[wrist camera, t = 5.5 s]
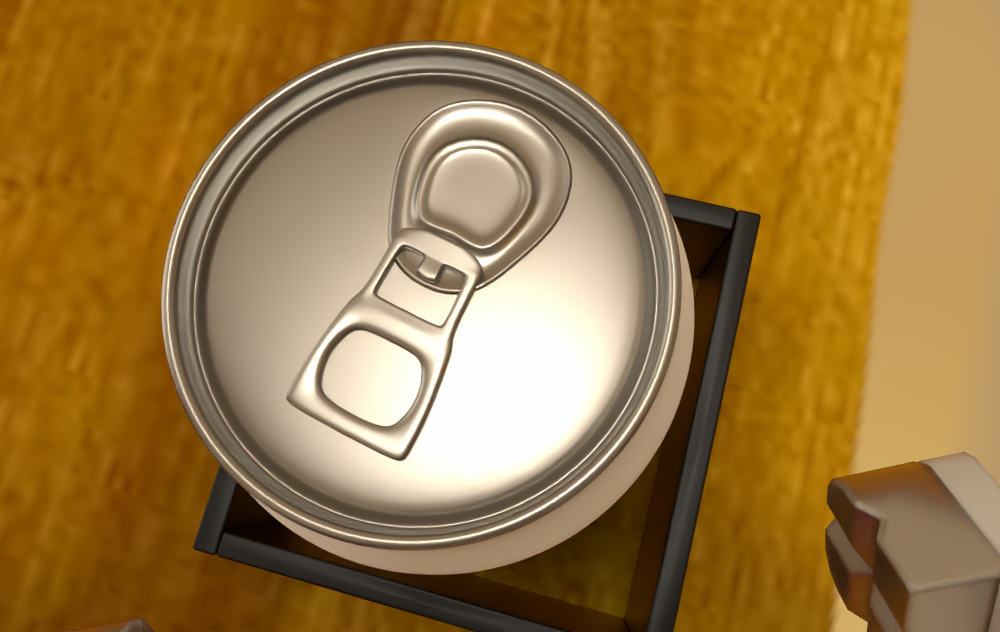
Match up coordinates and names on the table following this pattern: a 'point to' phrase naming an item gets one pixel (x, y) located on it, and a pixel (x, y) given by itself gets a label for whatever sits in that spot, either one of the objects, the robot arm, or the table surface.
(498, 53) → the can
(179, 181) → the table surface
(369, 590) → the bottomless square frame
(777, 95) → the table surface
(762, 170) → the table surface
